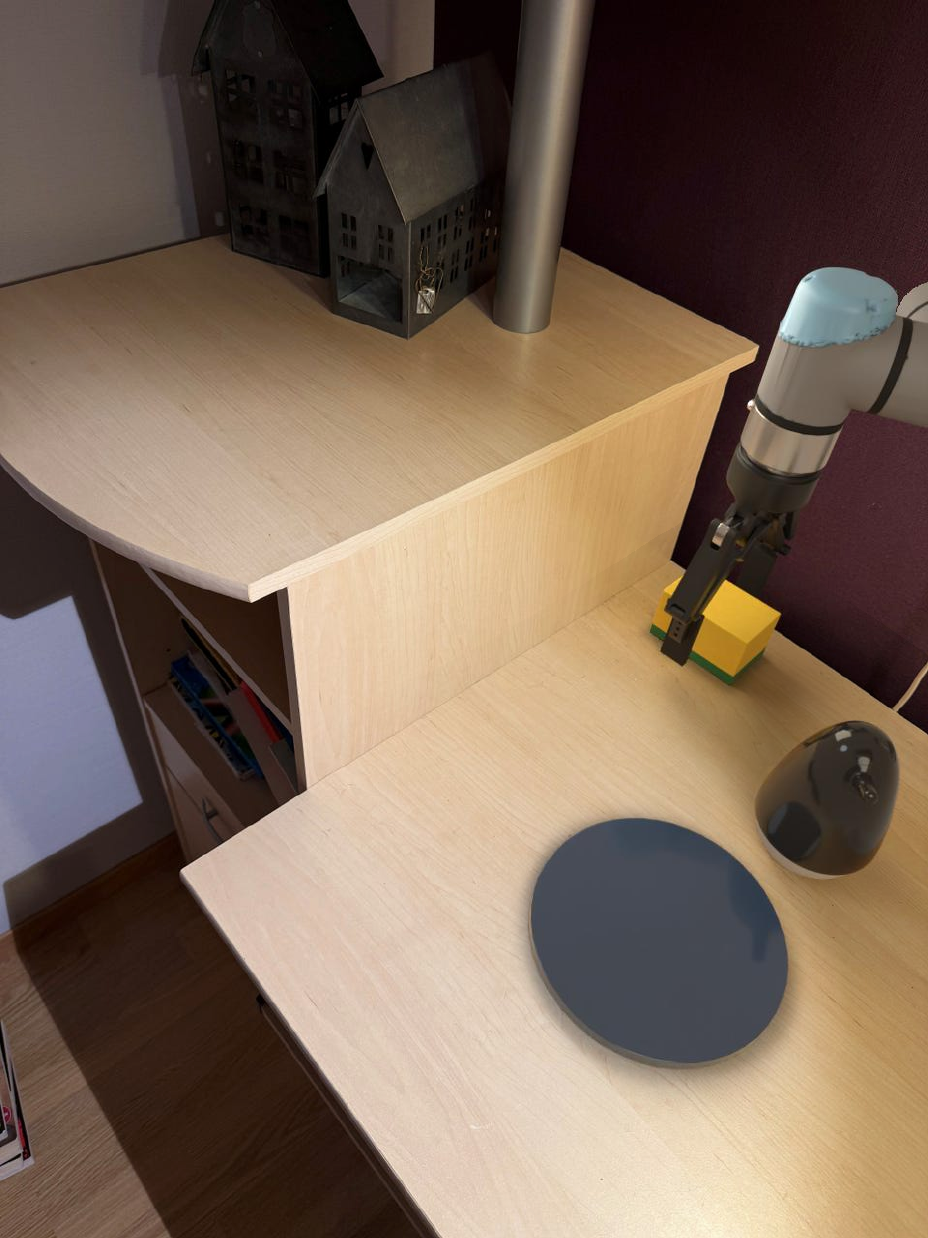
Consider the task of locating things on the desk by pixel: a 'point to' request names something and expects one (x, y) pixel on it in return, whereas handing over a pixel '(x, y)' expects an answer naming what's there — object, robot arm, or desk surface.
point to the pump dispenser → (830, 801)
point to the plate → (658, 943)
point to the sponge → (725, 630)
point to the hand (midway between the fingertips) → (710, 626)
